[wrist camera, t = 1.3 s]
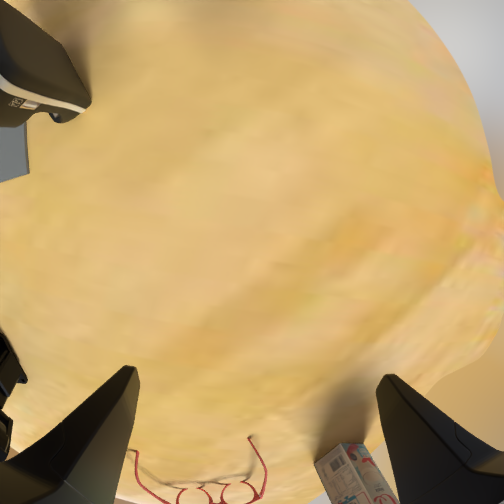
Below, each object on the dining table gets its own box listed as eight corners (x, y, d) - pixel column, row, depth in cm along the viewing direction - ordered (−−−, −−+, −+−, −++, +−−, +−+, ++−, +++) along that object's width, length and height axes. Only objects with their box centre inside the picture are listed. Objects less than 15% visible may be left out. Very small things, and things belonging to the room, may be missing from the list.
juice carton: (340, 442, 36) (398, 546, 16) (363, 443, 39) (418, 534, 19) (313, 464, 38) (360, 563, 17) (338, 463, 40) (384, 551, 20)
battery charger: (25, 74, 13) (-67, 43, 3) (62, 42, 13) (-15, -16, 3) (56, 138, 16) (-48, 141, 5) (96, 106, 16) (10, 70, 5)
